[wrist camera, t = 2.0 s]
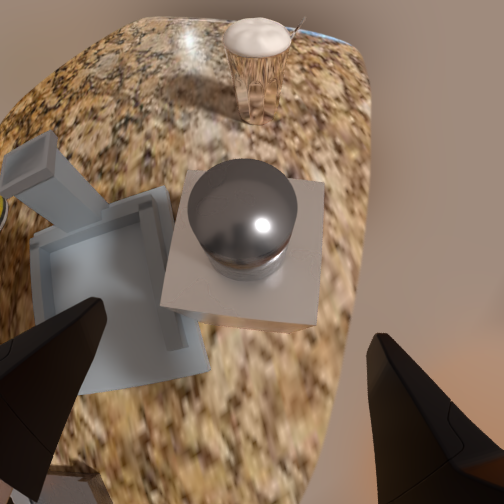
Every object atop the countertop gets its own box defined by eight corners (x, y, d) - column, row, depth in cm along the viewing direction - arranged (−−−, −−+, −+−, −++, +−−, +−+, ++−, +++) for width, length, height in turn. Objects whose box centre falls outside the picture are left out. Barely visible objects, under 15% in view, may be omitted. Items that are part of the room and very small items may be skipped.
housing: (289, 333, 19) (337, 317, 7) (204, 323, 20) (126, 291, 8) (297, 252, 21) (341, 137, 9) (216, 243, 21) (170, 123, 9)
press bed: (211, 369, 19) (166, 393, 9) (63, 396, 18) (-33, 409, 8) (168, 189, 22) (120, 99, 13) (41, 235, 22) (-37, 183, 12)
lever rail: (118, 514, 15) (108, 525, 13) (-2, 494, 14) (-13, 498, 12) (99, 473, 16) (87, 481, 14) (-16, 460, 15) (-28, 463, 13)
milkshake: (294, 133, 24) (308, 34, 14) (228, 130, 24) (215, 31, 14) (293, 96, 25) (304, 3, 15) (233, 93, 25) (225, 1, 16)
